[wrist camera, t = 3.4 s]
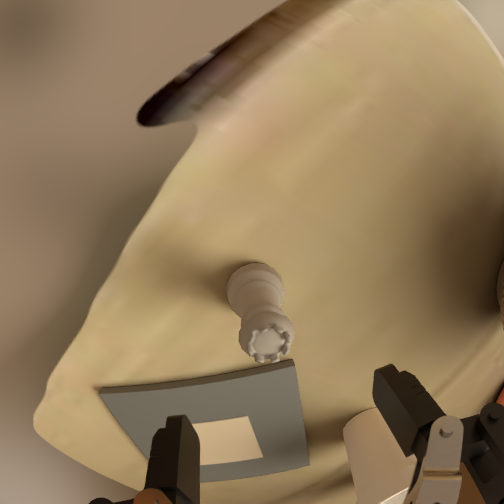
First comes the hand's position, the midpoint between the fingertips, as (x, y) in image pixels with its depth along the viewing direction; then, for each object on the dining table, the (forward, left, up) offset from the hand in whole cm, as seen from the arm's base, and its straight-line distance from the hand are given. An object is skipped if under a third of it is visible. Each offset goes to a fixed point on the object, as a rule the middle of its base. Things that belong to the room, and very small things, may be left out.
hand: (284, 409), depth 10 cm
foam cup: (-10, +23, -13) cm, 28 cm away
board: (+8, +18, -13) cm, 24 cm away
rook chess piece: (0, 0, -13) cm, 13 cm away
